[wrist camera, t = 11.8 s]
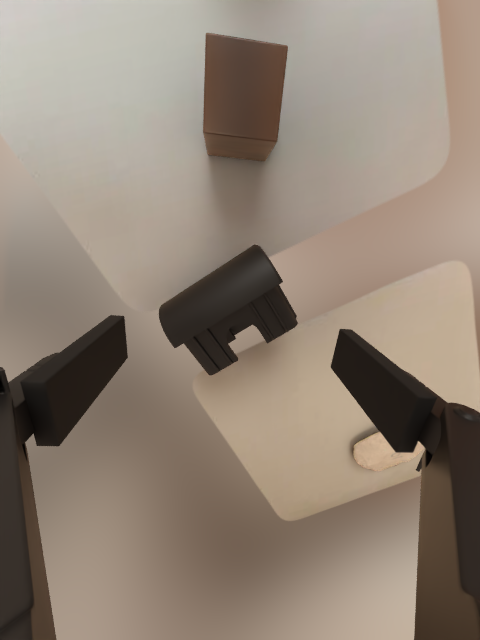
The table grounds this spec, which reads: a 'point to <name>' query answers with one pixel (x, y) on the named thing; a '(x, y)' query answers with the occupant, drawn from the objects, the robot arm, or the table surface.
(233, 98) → the walnut block middle
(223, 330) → the end cap
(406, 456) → the stone
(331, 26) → the table surface
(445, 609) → the robot arm
